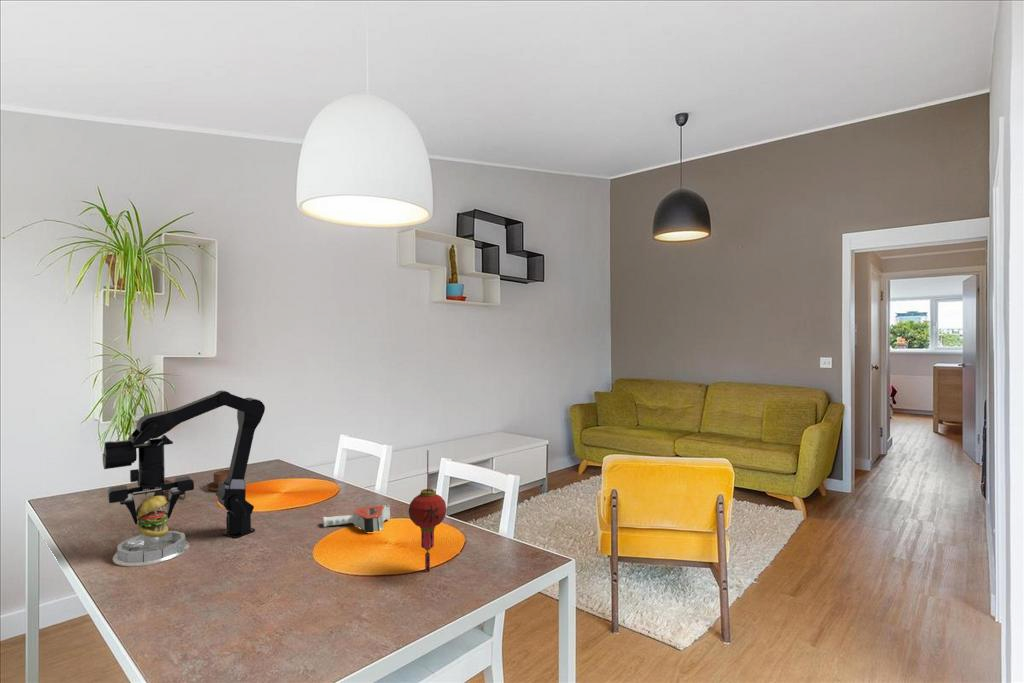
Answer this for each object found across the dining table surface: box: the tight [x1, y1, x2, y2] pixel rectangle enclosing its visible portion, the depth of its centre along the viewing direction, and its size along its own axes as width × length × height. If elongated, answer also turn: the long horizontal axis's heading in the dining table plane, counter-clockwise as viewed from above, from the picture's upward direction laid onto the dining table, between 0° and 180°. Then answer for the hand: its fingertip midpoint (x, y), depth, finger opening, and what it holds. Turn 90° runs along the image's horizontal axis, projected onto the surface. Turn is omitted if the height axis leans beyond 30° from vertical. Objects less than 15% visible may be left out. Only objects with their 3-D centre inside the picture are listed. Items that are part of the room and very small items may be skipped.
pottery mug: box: [152, 479, 187, 500], centre depth 189 cm, size 12×10×8 cm
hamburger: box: [136, 493, 169, 537], centre depth 146 cm, size 8×7×12 cm
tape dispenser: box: [322, 504, 391, 532], centre depth 167 cm, size 18×5×20 cm
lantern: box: [408, 450, 448, 573], centre depth 135 cm, size 10×10×30 cm
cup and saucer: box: [206, 469, 229, 492], centre depth 206 cm, size 12×12×6 cm
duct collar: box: [112, 530, 190, 568], centre depth 146 cm, size 17×17×3 cm
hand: (152, 521), depth 146 cm, fingers closed on hamburger, 7 cm apart
